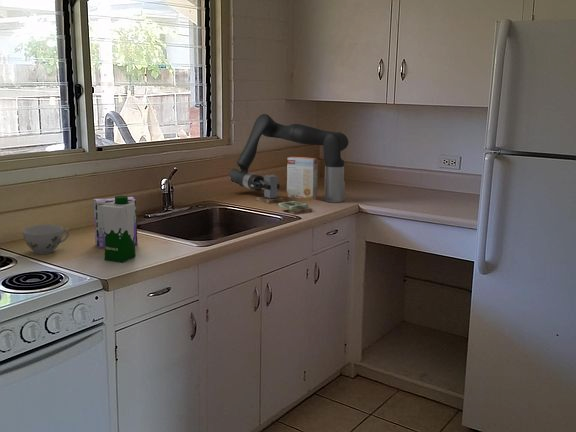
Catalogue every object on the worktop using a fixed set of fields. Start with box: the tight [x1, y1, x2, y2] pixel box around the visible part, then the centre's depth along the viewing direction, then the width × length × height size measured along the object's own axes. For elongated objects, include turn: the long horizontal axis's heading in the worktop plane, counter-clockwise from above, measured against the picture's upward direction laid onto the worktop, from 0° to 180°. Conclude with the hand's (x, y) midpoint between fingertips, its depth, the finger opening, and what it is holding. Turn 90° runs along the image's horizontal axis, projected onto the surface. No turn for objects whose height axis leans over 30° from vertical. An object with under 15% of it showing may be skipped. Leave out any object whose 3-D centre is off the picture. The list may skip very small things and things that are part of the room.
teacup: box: [21, 224, 70, 255], centre depth 205 cm, size 15×12×8 cm
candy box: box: [93, 196, 138, 249], centre depth 213 cm, size 14×6×16 cm, turn 114°
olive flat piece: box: [255, 195, 313, 215], centre depth 283 cm, size 10×30×3 cm, turn 38°
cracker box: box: [286, 156, 319, 201], centre depth 299 cm, size 14×6×21 cm, turn 65°
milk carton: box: [100, 195, 136, 263], centre depth 196 cm, size 9×9×20 cm
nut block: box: [263, 174, 279, 200], centre depth 288 cm, size 4×4×12 cm
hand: (274, 187), depth 286 cm, fingers closed on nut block, 4 cm apart
